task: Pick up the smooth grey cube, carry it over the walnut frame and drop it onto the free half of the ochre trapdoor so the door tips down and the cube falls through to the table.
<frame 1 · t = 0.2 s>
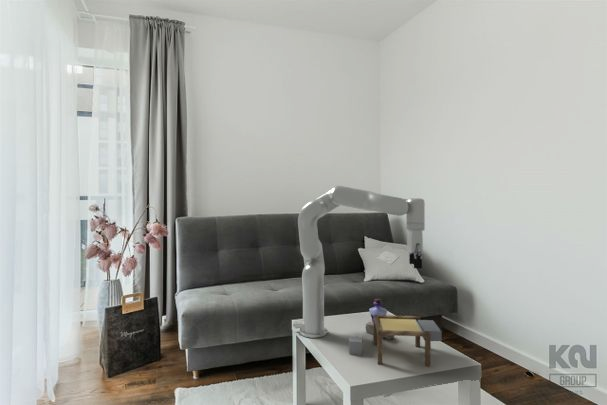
hand: (415, 266, 158), 31 cm above the table, fingers open, 9 cm apart
trapdoor: (409, 329, 140), point 10 cm above the table, hinge at 0.0°
concrete fragment: (378, 336, 160), on the table
potion bottle: (378, 324, 174), on the table
smooth grey cube: (355, 351, 143), on the table
frame: (399, 354, 141), on the table
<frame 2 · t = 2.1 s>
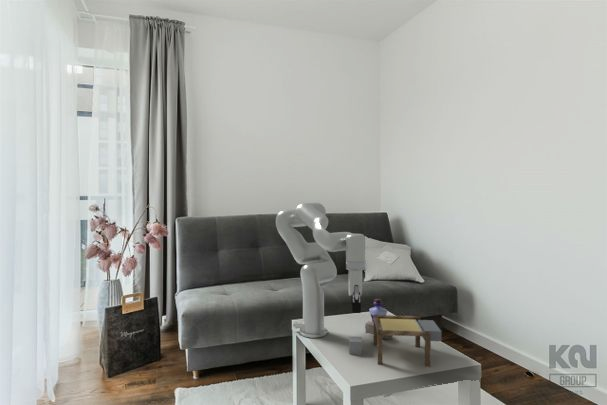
hand: (356, 308, 143), 17 cm above the table, fingers open, 9 cm apart
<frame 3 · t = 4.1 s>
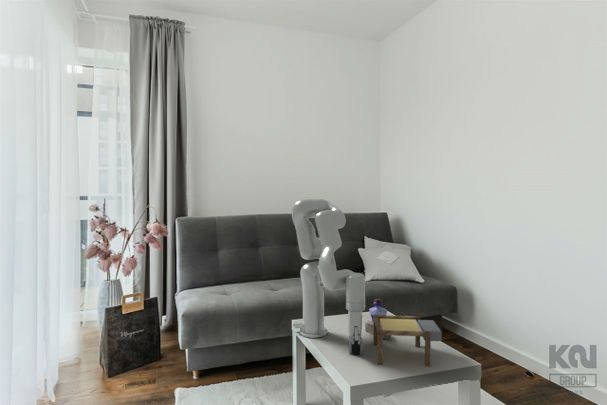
hand: (355, 350, 143), 0 cm above the table, fingers closed on smooth grey cube, 5 cm apart
smooth grey cube: (355, 351, 143), on the table, touching gripper
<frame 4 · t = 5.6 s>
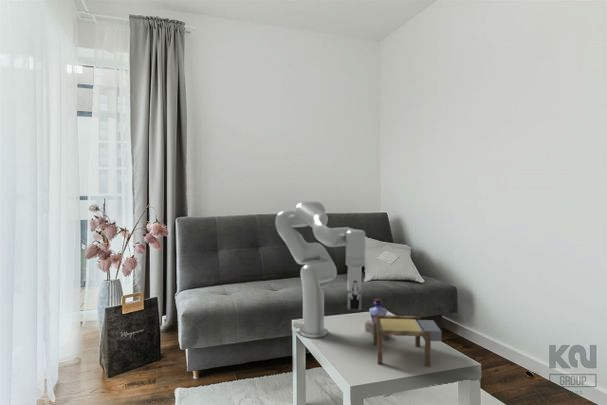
hand: (354, 306, 143), 18 cm above the table, fingers closed on smooth grey cube, 5 cm apart
smooth grey cube: (354, 307, 143), point 17 cm above the table, touching gripper
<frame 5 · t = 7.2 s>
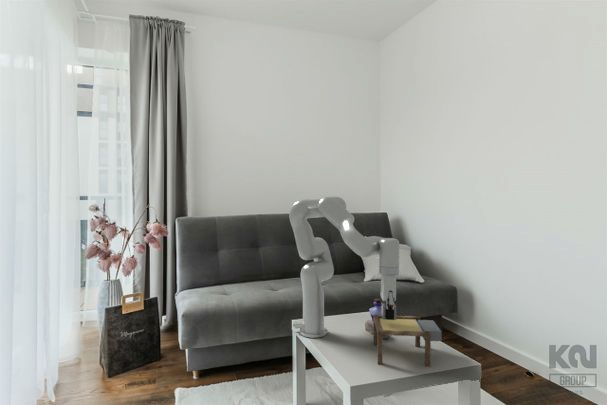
hand: (388, 316, 141), 15 cm above the table, fingers closed on smooth grey cube, 5 cm apart
smooth grey cube: (388, 317, 141), point 14 cm above the table, touching gripper
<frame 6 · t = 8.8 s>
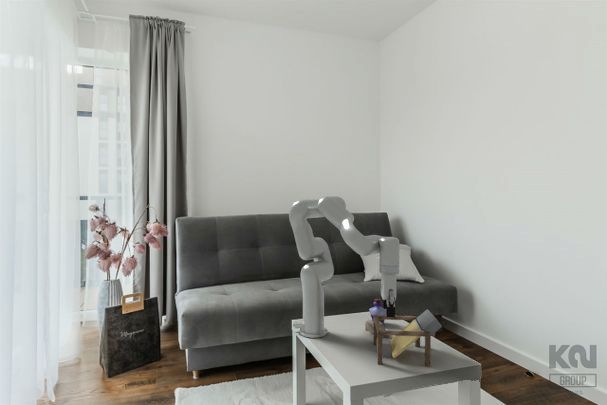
hand: (389, 312, 141), 16 cm above the table, fingers open, 9 cm apart
trapdoor: (413, 334, 140), point 8 cm above the table, hinge at -42.0°, touching smooth grey cube
smooth grey cube: (390, 347, 141), point 2 cm above the table, tilted 90°, touching trapdoor
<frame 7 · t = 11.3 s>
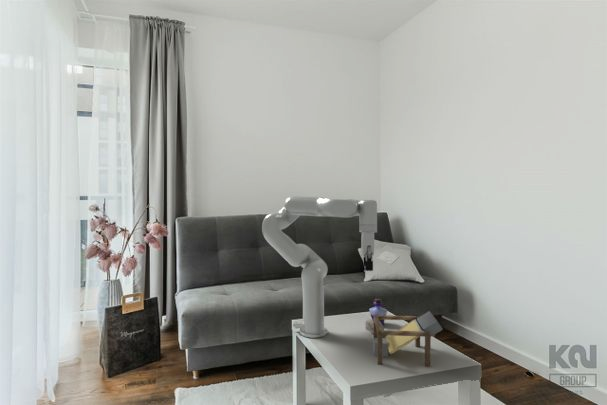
hand: (368, 268, 156), 30 cm above the table, fingers open, 9 cm apart
trapdoor: (412, 334, 140), point 8 cm above the table, hinge at -33.7°, touching smooth grey cube
smooth grey cube: (387, 347, 141), point 2 cm above the table, tilted 90°, touching trapdoor
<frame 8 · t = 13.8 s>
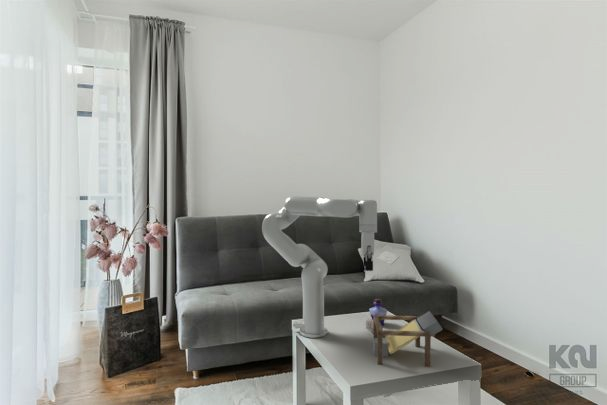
hand: (368, 268, 156), 30 cm above the table, fingers open, 9 cm apart
at the end: smooth grey cube point 2.5 cm above the table; the gripper is holding nothing; smooth grey cube moved 12.4 cm from its start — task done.
